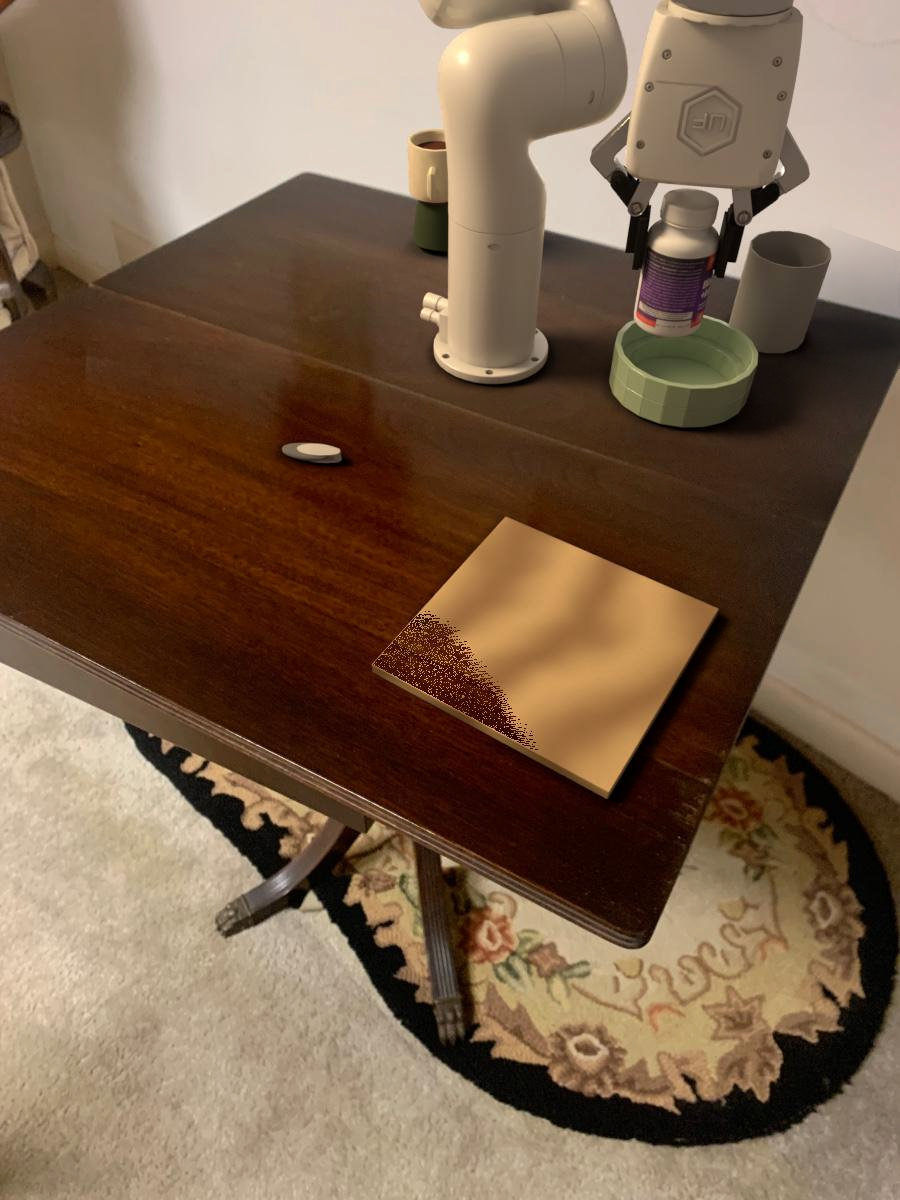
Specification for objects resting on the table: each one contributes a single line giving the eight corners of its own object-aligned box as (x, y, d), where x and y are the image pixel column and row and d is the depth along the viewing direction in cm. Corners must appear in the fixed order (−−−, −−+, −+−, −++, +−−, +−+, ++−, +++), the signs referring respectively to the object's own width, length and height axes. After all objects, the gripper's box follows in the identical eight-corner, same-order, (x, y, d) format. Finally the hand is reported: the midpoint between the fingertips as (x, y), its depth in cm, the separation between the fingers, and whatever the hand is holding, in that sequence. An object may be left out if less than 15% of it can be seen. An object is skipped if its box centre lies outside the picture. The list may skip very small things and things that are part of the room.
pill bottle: (707, 339, 69) (737, 215, 62) (638, 340, 69) (660, 215, 62) (693, 304, 73) (720, 183, 66) (627, 304, 73) (647, 183, 66)
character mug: (459, 267, 111) (461, 159, 101) (403, 263, 112) (400, 155, 102) (469, 228, 118) (471, 124, 109) (416, 224, 119) (414, 120, 109)
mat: (372, 672, 68) (371, 664, 67) (505, 524, 79) (505, 515, 78) (607, 799, 61) (609, 792, 60) (716, 616, 72) (719, 608, 71)
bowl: (585, 400, 92) (592, 358, 88) (643, 339, 100) (651, 298, 96) (715, 447, 87) (727, 405, 83) (764, 378, 95) (777, 337, 91)
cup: (804, 357, 98) (834, 271, 90) (728, 348, 99) (751, 263, 91) (800, 318, 103) (827, 234, 96) (728, 310, 104) (750, 227, 97)
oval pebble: (278, 460, 86) (276, 451, 85) (289, 445, 87) (286, 436, 86) (336, 469, 84) (334, 459, 83) (345, 453, 85) (344, 444, 85)
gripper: (587, -9, 53) (559, 278, 66) (888, 7, 50) (797, 301, 64) (598, -39, 58) (570, 234, 71) (872, -26, 55) (790, 253, 69)
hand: (678, 263), depth 67 cm, fingers closed on pill bottle, 5 cm apart
